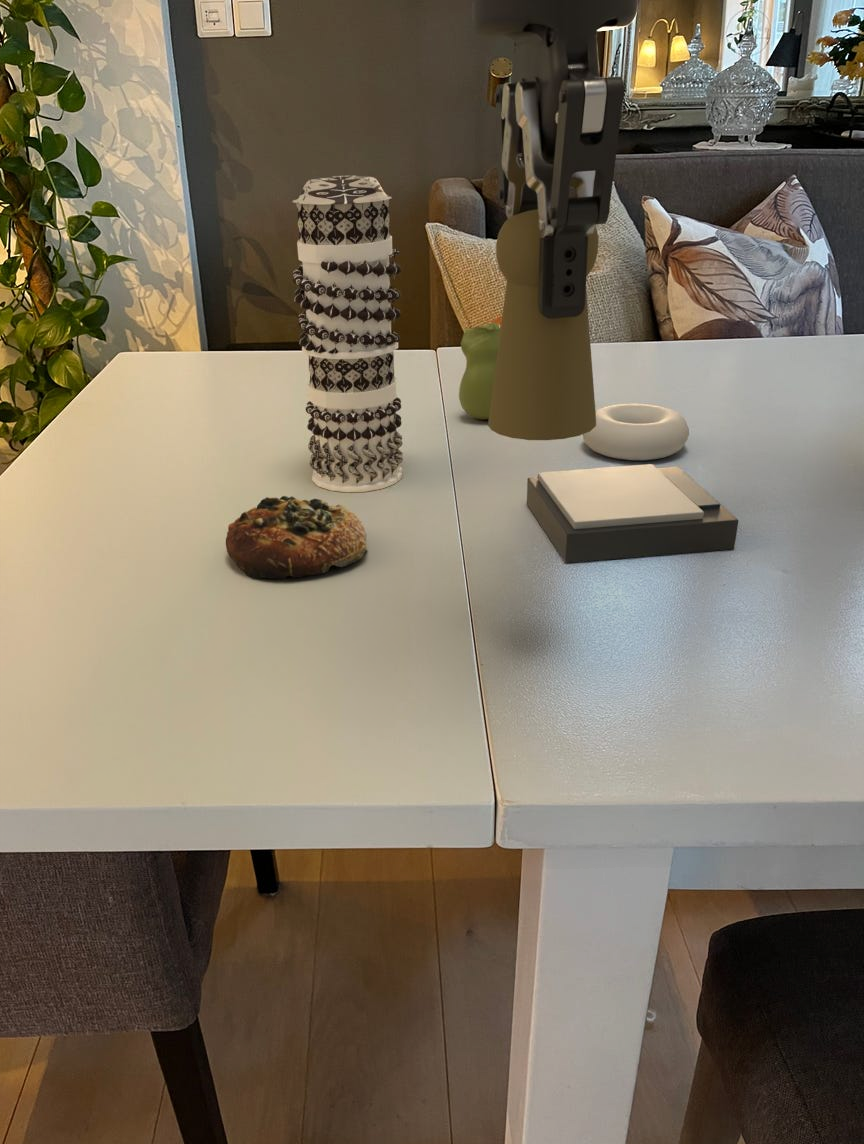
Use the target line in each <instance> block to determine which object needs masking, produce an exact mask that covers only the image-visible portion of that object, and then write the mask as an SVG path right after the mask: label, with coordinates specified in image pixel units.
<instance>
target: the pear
mask: <svg viewBox="0 0 864 1144" xmlns="http://www.w3.org/2000/svg"><path fill="white" fill-rule="evenodd" d="M499 338H500V325H499V324H498V323H491V322H490V323H488V324H484V325H480V326H478V325H477V326H473V327H468V328H466V329H465V331H464V332H463V335H462V339H461V342H460V349H461V352H462V353H463V355H464V357H465V360H466V363H465V364H466V366H465V371H464V373H463V375H462V378H461V379H460V384H459V389H458V390H459V391H458V397H459V399H458V400H459V403H460V405H461V407H462V409H463V411H464V412H465V413H466V414H467V415H468V416H470V417H471V418H473V419H476V420H484V421H485V420H489V413H490V406H491V398H492V391H493V383H494V376H495V368H496V360H497V353H498V345H499Z"/></svg>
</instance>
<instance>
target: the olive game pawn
mask: <svg viewBox="0 0 864 1144" xmlns="http://www.w3.org/2000/svg"><path fill="white" fill-rule="evenodd" d="M538 221H539V215H538V209H535V210H531V211H526V212H523V213H520V214H517V215H514V216H511V217H510V218H509V219H506V220H505V221H504V222H503V224H502V226H501V228H500V230H499V231H498V234H497V239H496V242H495V243H496V244H495V255H496V256H495V258H496V261H497V266H498V269H499V271H500V272H501V274H502V275H503V277H504V278H505V280H506V284H505V292H504V293H505V294H504V301H503V308H502V315H501V316H502V323H501V330H500V338H499V345H498V353H497V360H496V368H495V376H494V383H493V391H492V398H491V406H490V413H489V419H488V420H487V421H488V422H487V426H488V428H489V429H490V430H491V431H493V432H494V433H496V434H498V435H500V436H502V437H503V436H504V437H507V438H511V439H516V440H523V441H524V440H526V441H557V440H566V439H571V438H574V437H580V436H583V434H585V433H587V432H590V431H591V430H592V429H593V428H594V427H596V400H595V386H594V373H593V361H592V358H593V357H592V345H591V333H590V320H589V306H588V296H587V294H588V292H587V291H586V295H585V308H584V311H583V312H582V313H581V314H580V315H579V316H576V317H566V318H554V319H549V318H546V317H545V316H543V315H542V314H541V313H540V312H539V309H538V297H539V257H540V238H542V237H541V235H540V231H539V228H538ZM586 236H588V254H587V274H586V278H587V277H588V276H589V274H590V273H591V271H592V270H593V268H594V267H595V264H596V262H597V257H598V252H599V241H600V240H599V234H598V228H597V225H596V226H595V230H594V233H593V234H591V235H586Z"/></svg>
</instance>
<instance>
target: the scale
mask: <svg viewBox="0 0 864 1144" xmlns="http://www.w3.org/2000/svg"><path fill="white" fill-rule="evenodd" d="M526 485H527V486H526V487H527V488H526V506H527V507H528V509H529V510H530V511H531V513H532V514H533V516H534V518H535V519H536V520H537V522H538V524H539V525H540V527H541V529H542V530H543V532H545V534H546V536H547V537H548V539H549V541H550V542H551V543H552V545H553V546H554V548H555V549H556V551H557V552H558V554H559V556H560V557H561V558H562V560H563V562H564V563H565V564H571V563H583V562H584V563H586V562H596V561H608V560H619V559H632V558H643V557H656V556H657V557H658V556H668V555H669V556H670V555H679V554H681V555H682V554H693V553H704V552H717V551H718V552H719V551H728V550H734V549H735V548H736V547H735V546H736V541H737V534H738V527H739V522H740V521H739V519H738V518H737V516H735V515H734V514H733V513H732V512H730V511H729V509H727V508H726V507H725V506H724V505H722V504H721V502H719V501H718V500H717V499H715V497H713V496H712V495H711V494H710V493H709V492H707V490H705V489H704V488H703V487H702V486H701V485H699V484H698V483H697V482H696V481H695V480H694V479H693V478H691V476H689V475H688V473H686V472H685V471H684V470H683V469H682V468H680V467H679V466H665V467H656V466H655V465H654V464H653V463H648V464H633V465H622V466H621V465H620V466H609V467H607V466H606V467H597V468H596V467H595V468H582V469H581V468H580V469H569V470H567V469H566V470H555V471H543V472H542V471H541V472H537V476H534V477H527V484H526Z"/></svg>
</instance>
